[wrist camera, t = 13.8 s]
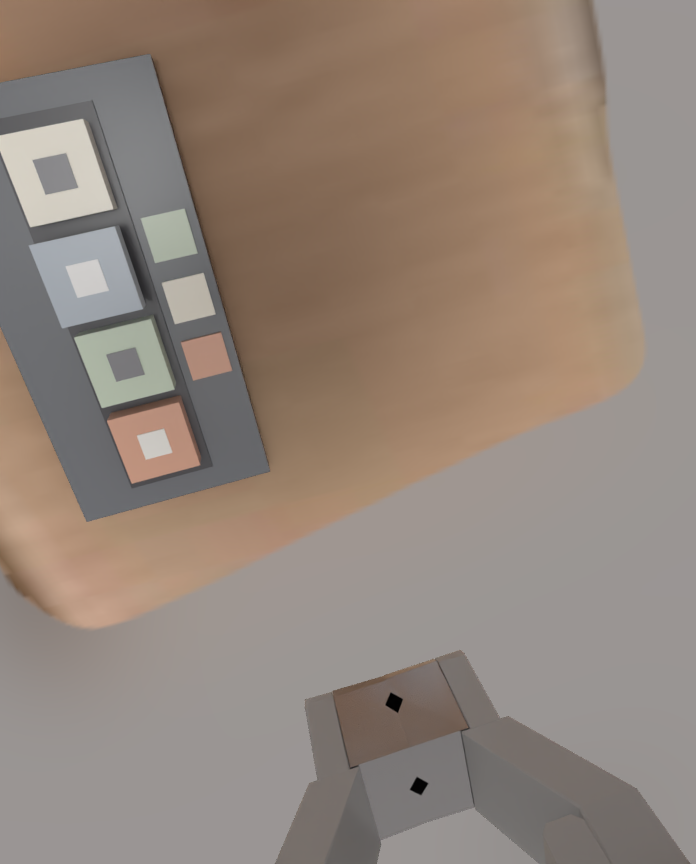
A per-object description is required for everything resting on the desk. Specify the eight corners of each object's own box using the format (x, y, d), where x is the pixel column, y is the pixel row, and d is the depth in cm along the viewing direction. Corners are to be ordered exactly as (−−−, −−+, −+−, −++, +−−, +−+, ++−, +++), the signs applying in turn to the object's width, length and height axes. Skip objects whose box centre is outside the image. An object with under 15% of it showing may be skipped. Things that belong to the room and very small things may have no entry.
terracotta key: (110, 412, 36) (106, 421, 34) (180, 395, 36) (178, 402, 35) (134, 474, 37) (131, 484, 36) (200, 456, 38) (200, 465, 36)
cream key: (3, 139, 30) (-7, 136, 28) (88, 122, 30) (82, 118, 29) (37, 226, 31) (29, 227, 30) (117, 208, 32) (113, 209, 30)
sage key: (79, 332, 34) (73, 337, 32) (153, 314, 34) (150, 319, 33) (105, 400, 35) (101, 408, 34) (176, 382, 36) (174, 390, 34)
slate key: (36, 243, 30) (27, 245, 29) (118, 225, 31) (114, 226, 29) (68, 323, 32) (61, 328, 31) (145, 304, 33) (142, 309, 31)
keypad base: (-88, 105, 30) (-103, 100, 28) (152, 59, 31) (149, 52, 30) (90, 512, 39) (85, 524, 38) (268, 464, 40) (270, 473, 39)
